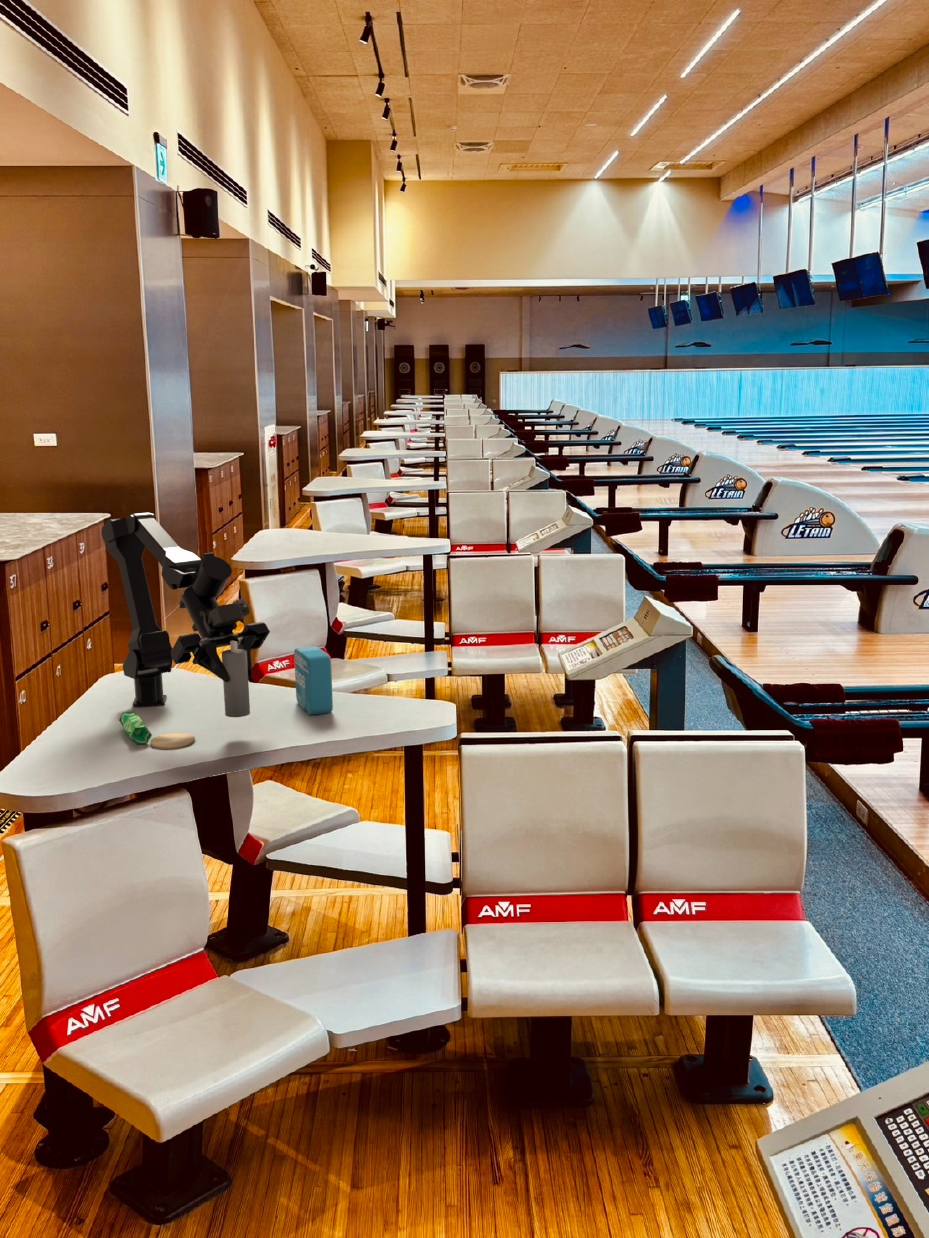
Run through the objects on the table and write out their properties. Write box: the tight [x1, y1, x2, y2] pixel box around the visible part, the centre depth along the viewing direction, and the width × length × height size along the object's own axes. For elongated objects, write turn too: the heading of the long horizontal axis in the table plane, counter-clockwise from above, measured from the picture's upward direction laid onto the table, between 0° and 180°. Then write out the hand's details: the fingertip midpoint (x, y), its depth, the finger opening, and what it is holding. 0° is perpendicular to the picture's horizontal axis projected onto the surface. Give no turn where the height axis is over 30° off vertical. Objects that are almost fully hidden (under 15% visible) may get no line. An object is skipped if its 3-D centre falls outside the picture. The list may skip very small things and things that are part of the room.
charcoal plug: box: [221, 641, 251, 718], centre depth 212 cm, size 5×5×14 cm
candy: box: [118, 711, 153, 745], centre depth 215 cm, size 12×3×4 cm
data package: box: [293, 645, 334, 716], centre depth 232 cm, size 12×4×12 cm, turn 23°
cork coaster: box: [150, 732, 196, 750], centre depth 211 cm, size 8×8×1 cm
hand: (239, 678), depth 211 cm, fingers closed on charcoal plug, 5 cm apart
